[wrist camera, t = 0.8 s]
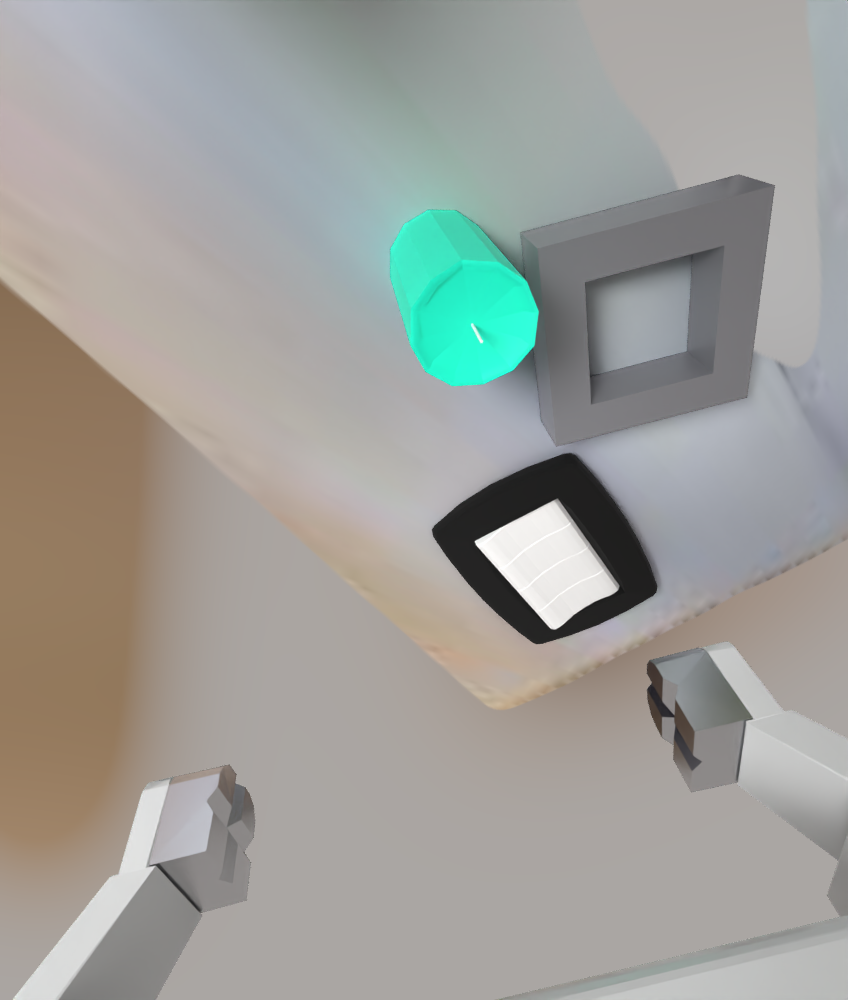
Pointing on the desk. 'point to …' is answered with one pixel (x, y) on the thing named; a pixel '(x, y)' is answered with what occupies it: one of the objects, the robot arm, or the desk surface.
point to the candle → (460, 299)
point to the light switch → (548, 550)
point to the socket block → (634, 244)
